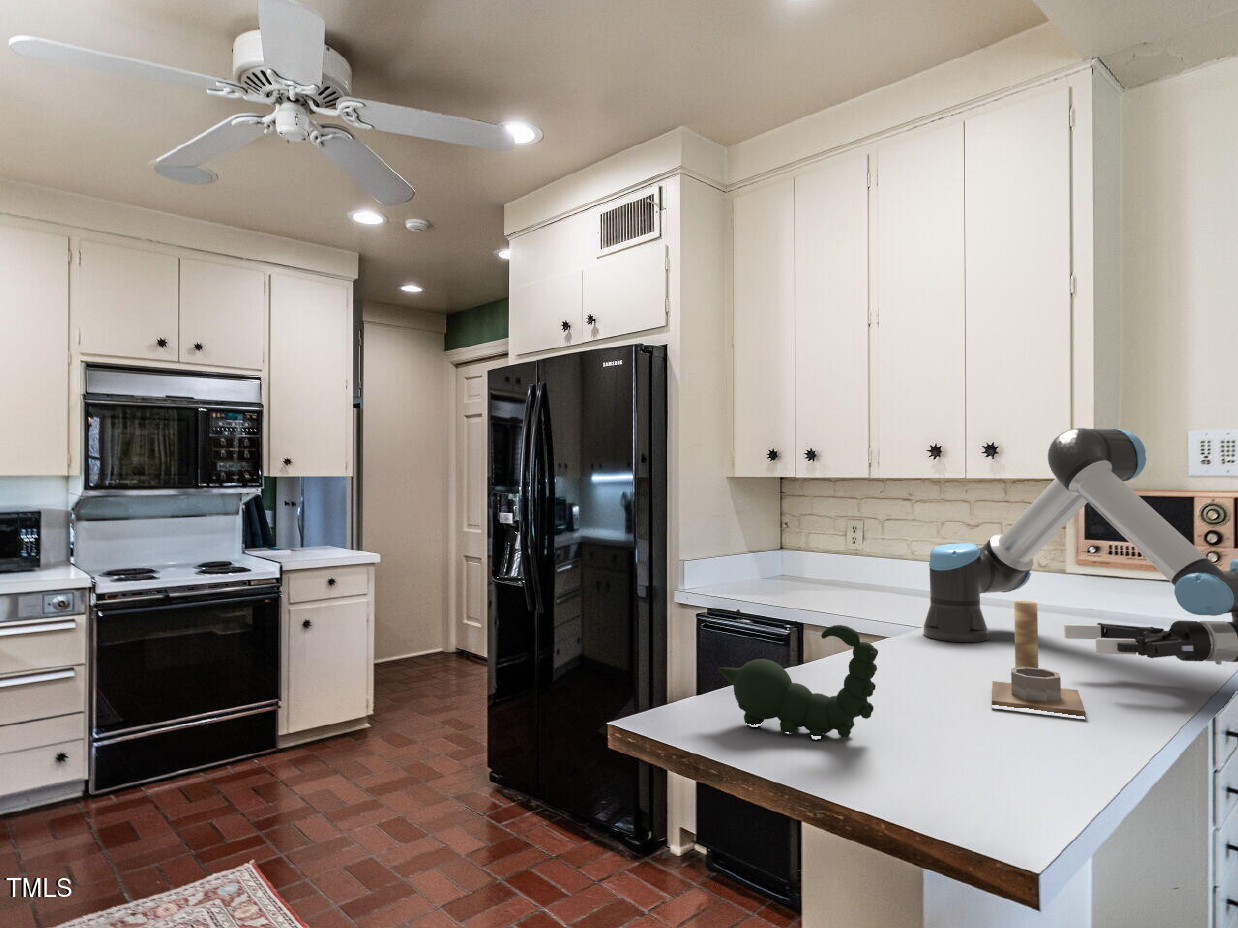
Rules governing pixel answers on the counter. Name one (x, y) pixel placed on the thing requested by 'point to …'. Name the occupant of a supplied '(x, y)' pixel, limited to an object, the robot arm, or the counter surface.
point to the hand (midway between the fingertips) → (1079, 638)
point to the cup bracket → (1037, 692)
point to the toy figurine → (806, 691)
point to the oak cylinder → (1026, 634)
